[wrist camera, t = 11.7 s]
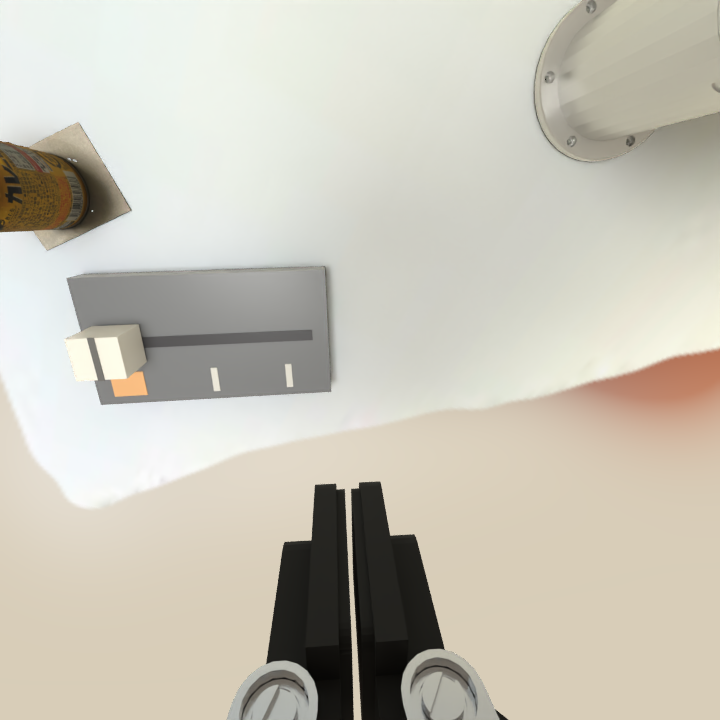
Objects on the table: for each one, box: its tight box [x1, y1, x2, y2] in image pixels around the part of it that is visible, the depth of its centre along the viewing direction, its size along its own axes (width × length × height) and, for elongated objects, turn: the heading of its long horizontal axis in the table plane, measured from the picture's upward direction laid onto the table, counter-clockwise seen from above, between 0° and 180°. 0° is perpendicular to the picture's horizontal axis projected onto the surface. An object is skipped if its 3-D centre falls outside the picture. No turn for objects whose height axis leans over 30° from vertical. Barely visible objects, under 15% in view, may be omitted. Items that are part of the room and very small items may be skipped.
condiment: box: [0, 122, 130, 250], centre depth 28 cm, size 7×8×12 cm
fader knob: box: [64, 324, 147, 381], centre depth 34 cm, size 4×4×4 cm
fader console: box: [67, 266, 331, 405], centre depth 38 cm, size 22×12×3 cm, turn 91°
